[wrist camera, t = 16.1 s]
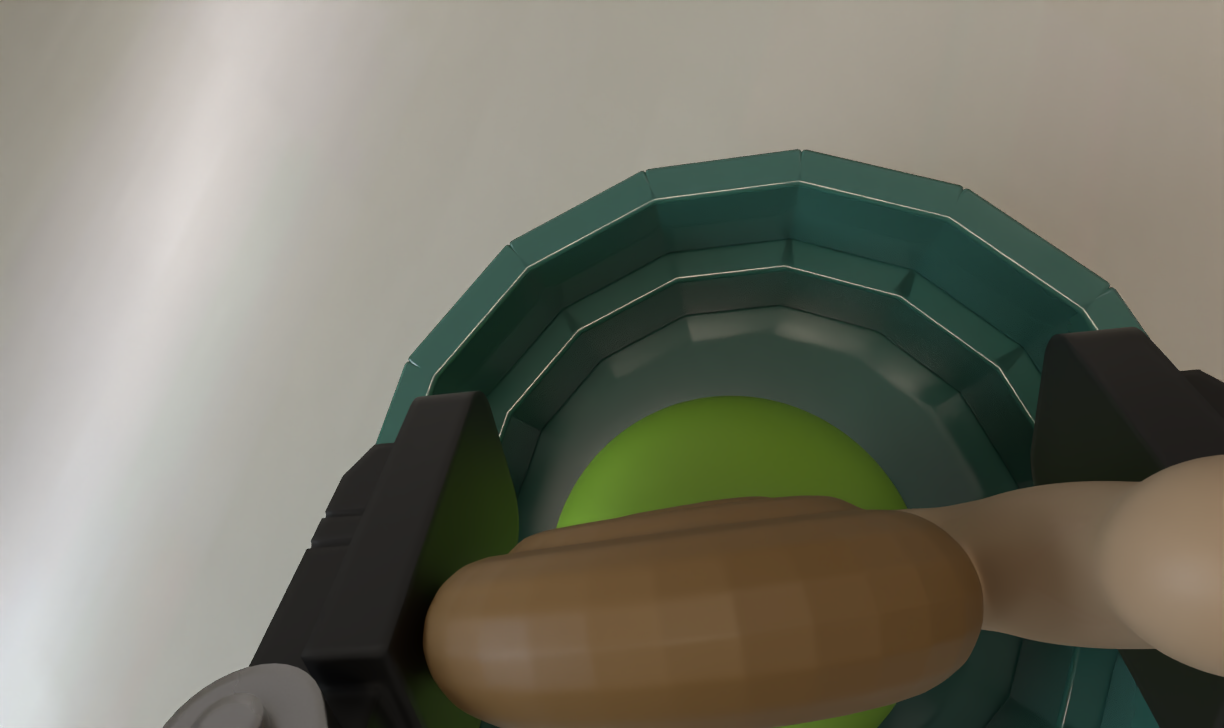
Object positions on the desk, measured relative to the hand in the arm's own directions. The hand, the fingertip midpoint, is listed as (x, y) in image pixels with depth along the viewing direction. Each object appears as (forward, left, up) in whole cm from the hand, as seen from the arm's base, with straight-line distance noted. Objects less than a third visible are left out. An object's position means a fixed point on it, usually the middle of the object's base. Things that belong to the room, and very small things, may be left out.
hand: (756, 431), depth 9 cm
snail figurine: (0, -2, -6) cm, 7 cm away
